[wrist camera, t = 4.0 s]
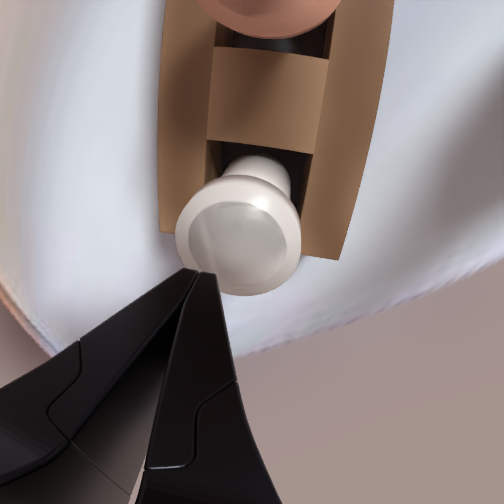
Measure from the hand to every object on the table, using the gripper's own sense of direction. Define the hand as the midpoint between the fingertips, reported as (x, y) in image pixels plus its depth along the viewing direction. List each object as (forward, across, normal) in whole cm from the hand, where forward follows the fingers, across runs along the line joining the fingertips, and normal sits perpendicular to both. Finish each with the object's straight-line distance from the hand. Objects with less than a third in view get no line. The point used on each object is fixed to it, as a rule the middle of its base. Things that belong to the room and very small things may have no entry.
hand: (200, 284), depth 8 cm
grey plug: (+10, 0, +1) cm, 10 cm away
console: (+12, 0, -8) cm, 15 cm away
